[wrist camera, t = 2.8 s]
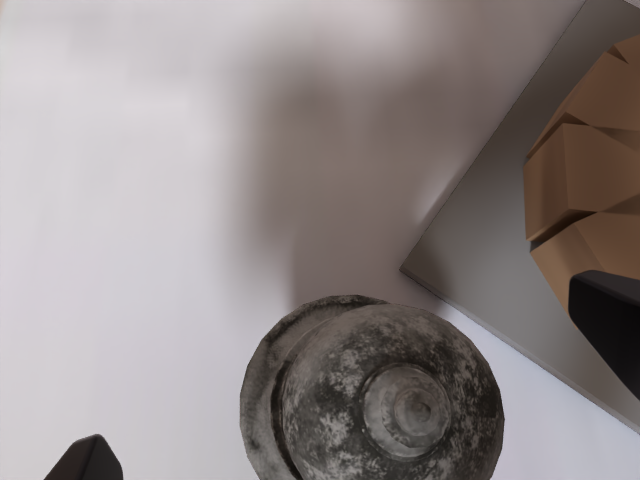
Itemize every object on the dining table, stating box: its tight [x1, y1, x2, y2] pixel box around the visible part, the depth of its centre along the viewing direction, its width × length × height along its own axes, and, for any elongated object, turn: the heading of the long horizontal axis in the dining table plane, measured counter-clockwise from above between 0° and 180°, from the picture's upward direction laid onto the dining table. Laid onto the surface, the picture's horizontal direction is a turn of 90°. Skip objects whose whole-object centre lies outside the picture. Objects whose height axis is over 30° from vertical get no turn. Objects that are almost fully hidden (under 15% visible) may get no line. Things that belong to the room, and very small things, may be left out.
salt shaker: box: [240, 295, 505, 480], centre depth 10 cm, size 6×6×12 cm
